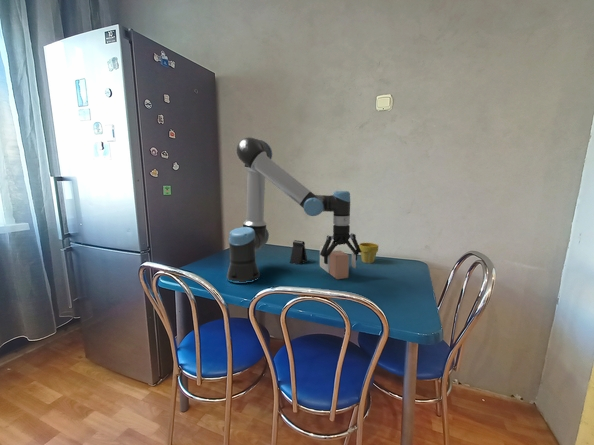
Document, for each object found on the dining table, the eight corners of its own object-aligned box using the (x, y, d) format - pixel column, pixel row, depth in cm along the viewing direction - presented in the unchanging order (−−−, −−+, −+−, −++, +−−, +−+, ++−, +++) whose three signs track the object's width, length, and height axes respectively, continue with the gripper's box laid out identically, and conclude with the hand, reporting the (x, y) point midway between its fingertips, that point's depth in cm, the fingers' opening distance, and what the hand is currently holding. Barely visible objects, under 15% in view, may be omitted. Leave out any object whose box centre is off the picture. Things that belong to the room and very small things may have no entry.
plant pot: (375, 259, 163) (376, 242, 162) (379, 264, 153) (380, 247, 152) (357, 258, 164) (358, 242, 163) (359, 264, 154) (360, 246, 153)
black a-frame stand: (298, 264, 153) (298, 243, 151) (289, 263, 156) (289, 241, 154) (307, 260, 161) (307, 240, 159) (298, 259, 164) (298, 238, 162)
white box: (329, 273, 139) (329, 251, 138) (319, 266, 151) (319, 246, 149) (340, 272, 141) (340, 250, 140) (330, 265, 153) (330, 245, 151)
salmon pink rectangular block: (336, 279, 132) (337, 256, 130) (329, 273, 139) (329, 252, 137) (348, 277, 134) (349, 255, 132) (340, 272, 141) (341, 250, 139)
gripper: (319, 227, 123) (319, 274, 127) (369, 224, 131) (367, 268, 134) (313, 225, 130) (313, 269, 134) (360, 221, 138) (359, 263, 141)
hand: (340, 268), depth 134 cm, fingers open, 13 cm apart
